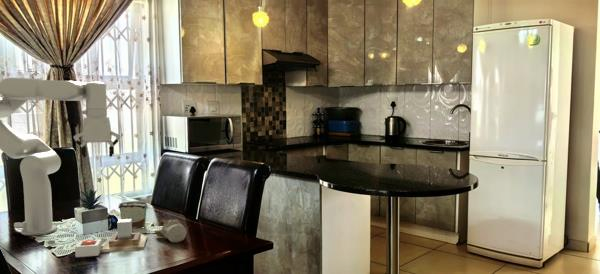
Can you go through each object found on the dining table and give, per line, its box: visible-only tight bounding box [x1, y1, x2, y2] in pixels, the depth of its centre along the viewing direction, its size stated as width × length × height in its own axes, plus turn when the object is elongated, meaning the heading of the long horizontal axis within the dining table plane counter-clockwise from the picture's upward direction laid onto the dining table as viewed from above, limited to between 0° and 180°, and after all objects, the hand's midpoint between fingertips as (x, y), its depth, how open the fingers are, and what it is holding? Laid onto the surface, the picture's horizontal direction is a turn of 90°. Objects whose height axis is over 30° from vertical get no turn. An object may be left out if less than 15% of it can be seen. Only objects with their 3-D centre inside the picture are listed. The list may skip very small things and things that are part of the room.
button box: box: [74, 239, 103, 258], centre depth 161 cm, size 7×7×4 cm
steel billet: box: [116, 218, 133, 240], centre depth 170 cm, size 4×4×8 cm
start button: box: [82, 239, 96, 246], centre depth 161 cm, size 4×4×2 cm
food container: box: [118, 200, 149, 228], centre depth 196 cm, size 12×6×10 cm, turn 84°
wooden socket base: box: [100, 232, 148, 253], centre depth 170 cm, size 14×14×3 cm
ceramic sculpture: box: [154, 217, 187, 243], centre depth 178 cm, size 11×9×15 cm
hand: (98, 156), depth 186 cm, fingers open, 9 cm apart
